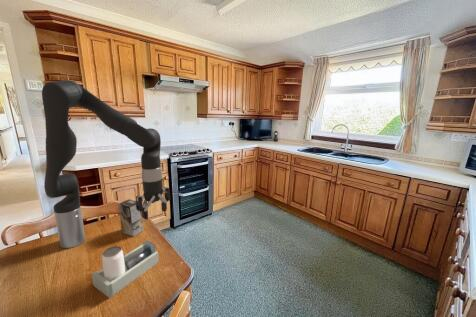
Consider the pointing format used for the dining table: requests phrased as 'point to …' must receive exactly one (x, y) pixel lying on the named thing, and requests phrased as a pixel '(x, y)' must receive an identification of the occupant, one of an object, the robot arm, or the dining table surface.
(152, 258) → the cradle
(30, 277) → the dining table surface
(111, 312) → the dining table surface
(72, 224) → the robot arm
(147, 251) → the shaft
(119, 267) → the can
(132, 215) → the coffee box
